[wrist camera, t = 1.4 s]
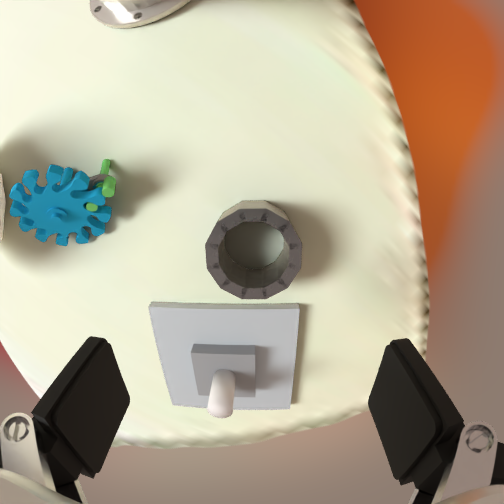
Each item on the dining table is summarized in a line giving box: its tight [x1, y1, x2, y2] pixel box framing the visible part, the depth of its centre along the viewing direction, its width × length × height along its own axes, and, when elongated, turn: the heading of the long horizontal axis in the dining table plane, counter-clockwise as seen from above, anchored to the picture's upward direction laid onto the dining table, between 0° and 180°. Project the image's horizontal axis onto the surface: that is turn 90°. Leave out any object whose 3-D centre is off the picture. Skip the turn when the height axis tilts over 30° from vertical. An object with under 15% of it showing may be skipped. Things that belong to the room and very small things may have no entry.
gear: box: [9, 159, 116, 246], centre depth 20 cm, size 11×6×10 cm
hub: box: [205, 201, 302, 299], centre depth 22 cm, size 7×7×4 cm
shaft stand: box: [149, 302, 300, 418], centre depth 25 cm, size 14×14×7 cm
